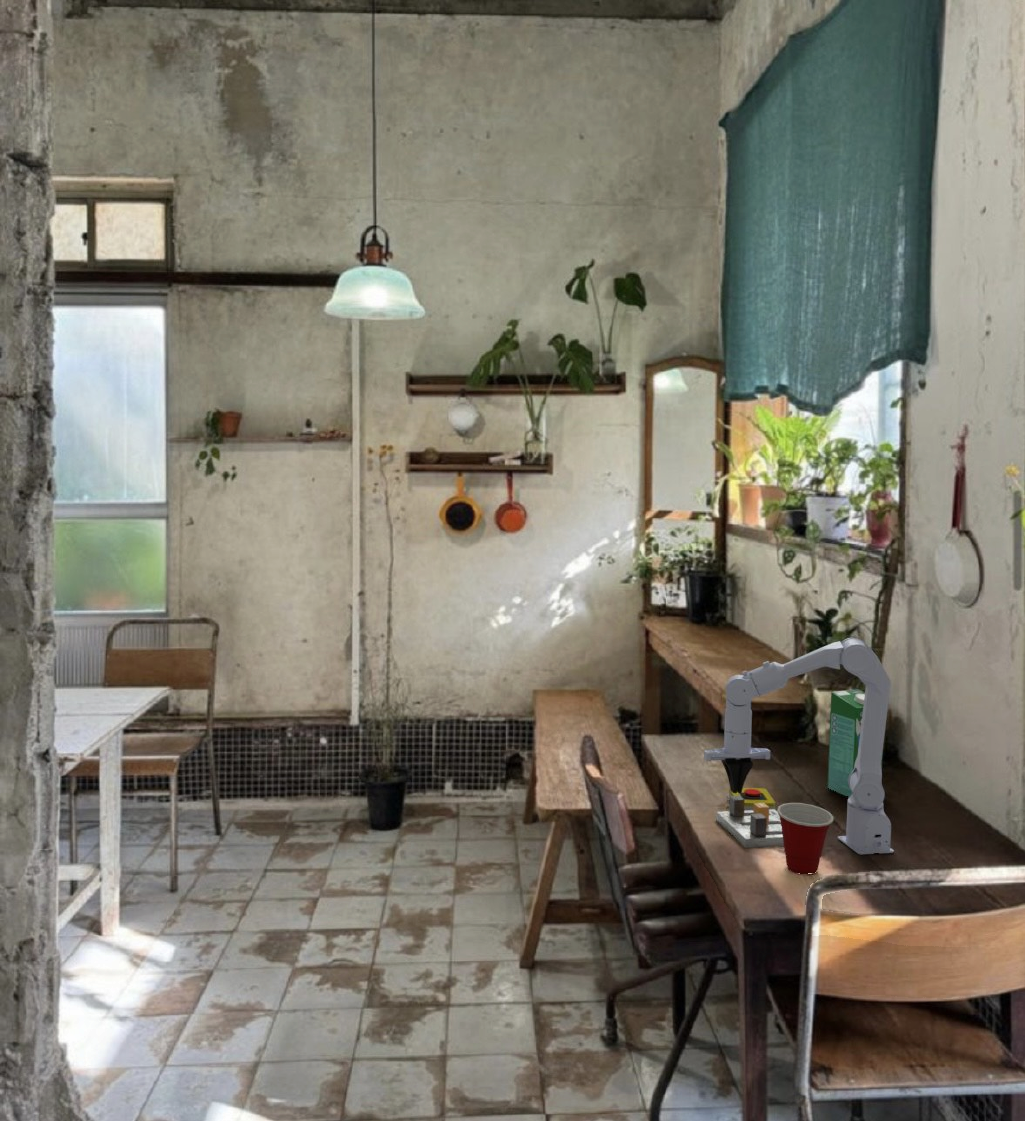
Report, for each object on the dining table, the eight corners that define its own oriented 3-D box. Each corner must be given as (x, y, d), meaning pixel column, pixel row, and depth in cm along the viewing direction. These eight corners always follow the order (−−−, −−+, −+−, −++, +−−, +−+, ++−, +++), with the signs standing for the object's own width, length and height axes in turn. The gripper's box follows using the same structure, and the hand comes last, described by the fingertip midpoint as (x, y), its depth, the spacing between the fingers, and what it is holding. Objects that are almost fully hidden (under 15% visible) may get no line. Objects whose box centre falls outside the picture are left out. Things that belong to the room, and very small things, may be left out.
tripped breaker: (768, 823, 215) (769, 806, 215) (758, 824, 215) (758, 807, 214) (763, 819, 218) (763, 802, 218) (753, 820, 217) (753, 802, 217)
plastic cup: (808, 885, 188) (810, 824, 187) (763, 867, 197) (765, 808, 196) (843, 872, 195) (845, 813, 194) (798, 855, 203) (800, 798, 202)
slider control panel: (807, 844, 209) (808, 817, 209) (745, 847, 207) (746, 820, 207) (774, 817, 226) (775, 792, 225) (716, 820, 224) (717, 794, 223)
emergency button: (738, 799, 227) (726, 779, 241) (737, 818, 227) (725, 797, 242) (778, 800, 226) (764, 780, 241) (778, 818, 227) (763, 797, 242)
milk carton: (853, 799, 240) (857, 698, 238) (827, 788, 248) (830, 691, 246) (881, 794, 243) (885, 695, 241) (854, 784, 252) (858, 688, 249)
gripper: (761, 725, 219) (759, 784, 220) (699, 727, 216) (698, 787, 218) (775, 733, 212) (773, 794, 213) (711, 735, 209) (709, 797, 211)
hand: (735, 791), depth 215 cm, fingers closed
